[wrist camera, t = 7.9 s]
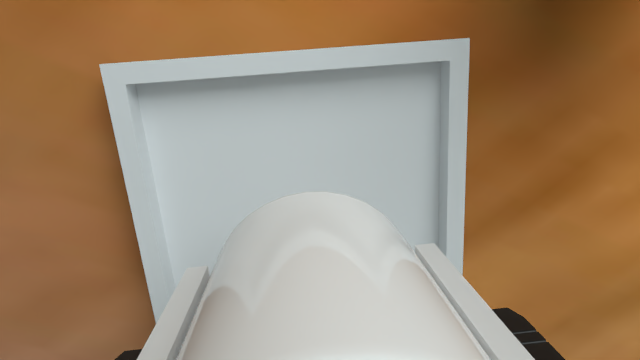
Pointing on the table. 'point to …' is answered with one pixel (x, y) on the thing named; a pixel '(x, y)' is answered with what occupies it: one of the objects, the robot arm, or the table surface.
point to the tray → (289, 143)
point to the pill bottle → (323, 290)
